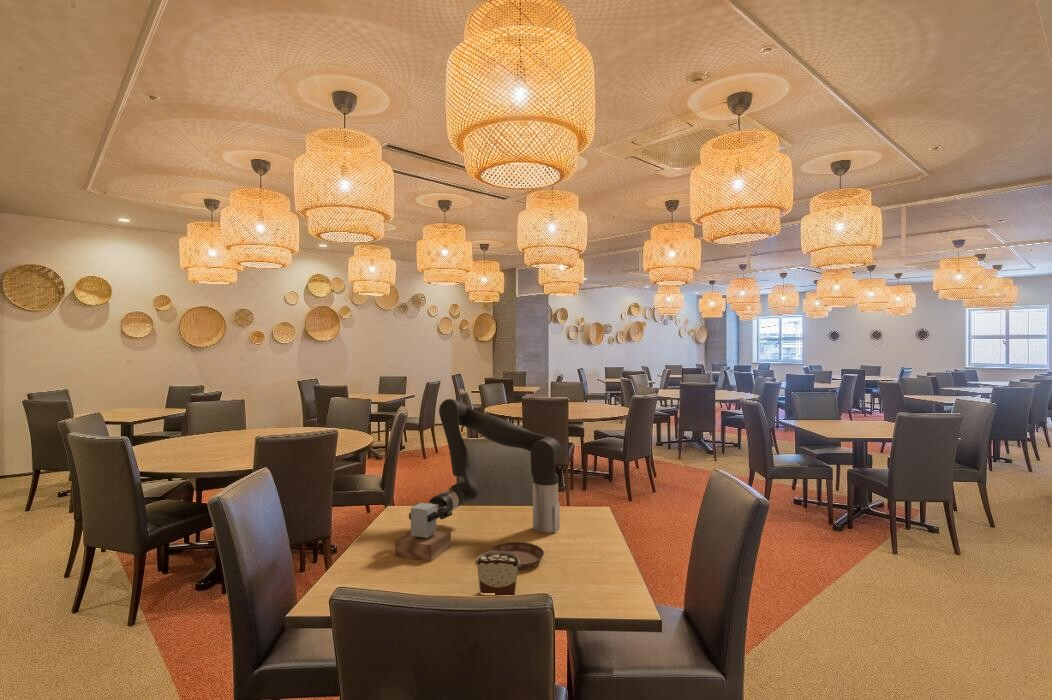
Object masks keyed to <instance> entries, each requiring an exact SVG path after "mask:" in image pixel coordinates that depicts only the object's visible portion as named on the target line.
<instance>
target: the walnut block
mask: <svg viewBox="0 0 1052 700" xmlns="http://www.w3.org/2000/svg"><path fill="white" fill-rule="evenodd" d="M394 543H395V544H394V545H395V546H394V547H395V553H394V557H399V558H406V559H412V560H419V561H425V562H426V561H427V562H433V561H434V560H436V559H437V558H438V557H439V556H440V555H442V554H444V553H445V552H446V551H447V550H449V549H450V548H451V547H452V531H445V530H437V529H436V532H435V533H434V534H432V535H431V536H429V537H428V538H424V537H417V536H411V530H410V531H409V532H407V533H405V534H404V535H402V536H400V537H399V538H397V539H396V540H395V542H394Z"/></svg>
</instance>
